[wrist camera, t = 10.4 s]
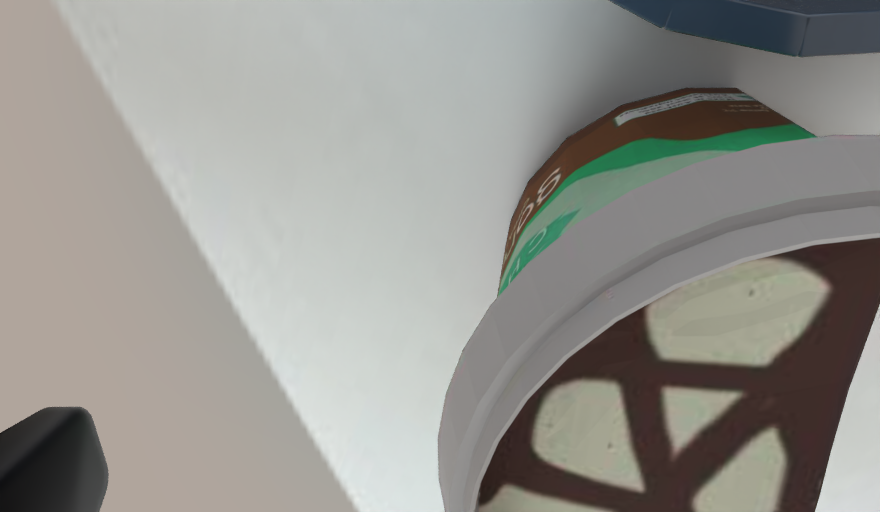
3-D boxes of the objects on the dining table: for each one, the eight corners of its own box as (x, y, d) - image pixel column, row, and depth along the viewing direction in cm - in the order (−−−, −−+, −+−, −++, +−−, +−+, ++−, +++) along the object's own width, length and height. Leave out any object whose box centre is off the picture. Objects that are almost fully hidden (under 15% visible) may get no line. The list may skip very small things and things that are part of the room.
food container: (482, 0, 19) (458, 143, 10) (752, 22, 18) (979, 191, 10) (445, 425, 24) (408, 761, 15) (651, 446, 24) (735, 799, 15)
